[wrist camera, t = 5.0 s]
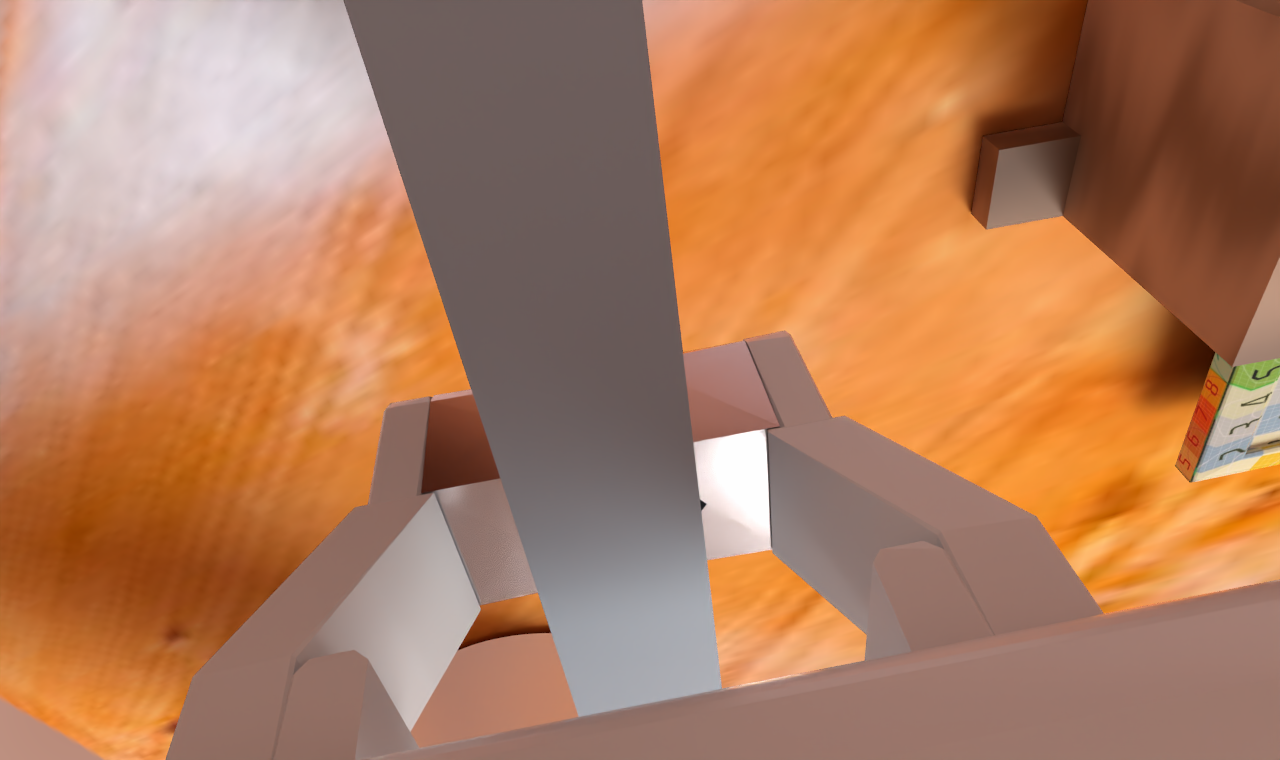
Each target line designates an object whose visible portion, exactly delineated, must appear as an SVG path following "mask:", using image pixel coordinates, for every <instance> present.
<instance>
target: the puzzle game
mask: <svg viewBox="0 0 1280 760" xmlns="http://www.w3.org/2000/svg"><path fill="white" fill-rule="evenodd" d="M1278 464H1280V358H1278V359H1273V360H1267V361H1262V362H1256V363H1251V364H1245V365H1240V366H1235V367H1231V366H1230V365H1229V364H1228V363H1227V362H1226V361H1225V360H1224V359H1223V358H1221V357H1220V356H1219V355H1218V354H1217V353H1216V352H1215V355H1214V358H1213V361H1212V363H1211V366H1210V369H1209V372H1208V375H1207V377H1206V380H1205V383H1204V386H1203V389H1202V392H1201V394H1200V397H1199V400H1198V403H1197V406H1196V408H1195V411H1194V414H1193V417H1192V420H1191V422H1190V425H1189V428H1188V431H1187V434H1186V436H1185V439H1184V442H1183V445H1182V448H1181V451H1180V453H1179V456H1178V459H1177V462H1176V465H1175V466H1176V468H1177V469H1178V470H1179V471H1180V472H1181V473H1182V474H1183V475H1184V476H1185V478H1186V479H1187V480H1188V481H1189V482H1196V481H1201V480H1206V479H1211V478H1216V477H1220V476H1225V475H1230V474H1235V473H1240V472H1244V471H1249V470H1254V469H1259V468H1264V467H1268V466H1273V465H1278Z"/></svg>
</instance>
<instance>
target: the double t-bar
mask: <svg viewBox="0 0 1280 760" xmlns="http://www.w3.org/2000/svg"><path fill="white" fill-rule="evenodd" d="M971 214H972V215H973V216H974V217H975V218H976V219H977V220H978V221H979V222H980V223H981V224H982V226H983V227H984V228H985V229H992V228H997V227H1003V226H1008V225H1014V224H1020V223H1025V222H1031V221H1036V220H1042V219H1048V218H1053V217H1059V216H1064V217H1065V218H1066V219H1067V220H1068V221H1069V222H1070V223H1071V224H1073V225H1074V226H1075V227H1076V228H1077V229H1078V230H1079V231H1080V232H1081V233H1083V234H1084V235H1085V236H1086V237H1087V238H1088V239H1089V240H1090V241H1092V242H1093V243H1094V244H1095V245H1096V246H1097V247H1098V248H1099V249H1101V250H1102V251H1103V252H1104V253H1105V254H1106V255H1107V256H1108V257H1109V258H1111V259H1112V260H1113V261H1114V262H1115V263H1116V264H1117V265H1118V266H1120V267H1121V268H1122V269H1123V270H1124V271H1125V272H1126V273H1127V274H1129V275H1130V276H1131V277H1132V278H1133V279H1134V280H1135V281H1136V282H1137V283H1139V284H1140V285H1141V286H1142V287H1143V288H1144V289H1145V290H1146V291H1148V292H1149V293H1150V294H1151V295H1152V296H1153V297H1154V298H1155V299H1156V300H1158V301H1159V302H1160V303H1161V304H1162V305H1163V306H1164V307H1165V308H1167V309H1168V310H1169V311H1170V312H1171V313H1172V314H1173V315H1174V316H1176V317H1177V318H1178V319H1179V320H1180V321H1181V322H1182V323H1183V324H1184V325H1186V326H1187V327H1188V328H1189V329H1190V330H1191V331H1192V332H1193V333H1195V334H1196V335H1197V336H1198V337H1199V338H1200V339H1201V340H1202V341H1203V342H1205V343H1206V344H1207V345H1208V346H1209V347H1210V348H1211V349H1212V350H1214V351H1215V352H1216V353H1217V354H1218V355H1219V356H1220V357H1221V358H1223V359H1224V360H1225V361H1226V362H1227V363H1228V364H1229V365H1230V366H1231V367H1235V366H1240V365H1245V364H1251V363H1256V362H1262V361H1267V360H1273V359H1278V358H1280V0H1088V3H1087V8H1086V12H1085V17H1084V22H1083V26H1082V31H1081V36H1080V41H1079V45H1078V50H1077V55H1076V59H1075V64H1074V69H1073V74H1072V78H1071V83H1070V88H1069V92H1068V97H1067V102H1066V107H1065V111H1064V116H1063V121H1062V122H1059V123H1054V124H1048V125H1042V126H1036V127H1031V128H1025V129H1019V130H1014V131H1008V132H1002V133H997V134H991V135H985V136H983V139H982V146H981V152H980V159H979V166H978V172H977V179H976V186H975V192H974V199H973V206H972V212H971Z"/></svg>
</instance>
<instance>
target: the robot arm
mask: <svg viewBox="0 0 1280 760" xmlns="http://www.w3.org/2000/svg"><path fill="white" fill-rule="evenodd" d="M683 358H684V367H685V375H686V384H687V393H688V401H689V410H690V418H691V427H692V436H693V444H694V453H695V462H696V470H697V479H698V487H699V496H700V505H701V513H702V522H703V531H704V539H705V548H706V556H707V560H711V559H717V558H723V557H729V556H735V555H742V554H748V553H754V552H760V551H766V550H772V551H773V554H774V555H776V556H777V557H778V558H779V559H780V560H781V561H783V562H784V563H785V564H786V565H787V566H788V567H789V568H791V569H792V570H793V571H794V572H795V573H796V574H797V575H799V576H800V577H801V578H802V579H803V580H804V581H806V582H807V583H808V584H809V585H810V586H811V587H812V588H814V589H815V590H816V591H817V592H818V593H819V594H820V595H822V596H823V597H824V598H825V599H826V600H827V601H829V602H830V603H831V604H832V605H833V606H834V607H835V608H837V609H838V610H839V611H840V612H841V613H842V614H843V615H845V616H846V617H847V618H848V619H849V620H850V621H852V622H853V623H854V624H855V625H856V626H857V627H858V628H860V629H861V630H862V631H863V632H864V633H865V634H866V635H867V639H866V651H865V661H861V662H856V663H851V664H846V665H841V666H836V667H830V668H825V669H820V670H815V671H810V672H805V673H800V674H795V675H790V676H785V677H780V678H774V679H769V680H764V681H759V682H754V683H749V684H744V685H739V686H734V687H729V688H723V689H718V690H713V691H708V692H703V693H698V694H693V695H688V696H683V697H678V698H673V699H667V700H662V701H657V702H652V703H647V704H642V705H637V706H632V707H627V708H622V709H616V710H611V711H606V712H601V713H596V714H591V715H586V716H581V717H579V716H578V713H577V710H576V707H575V704H574V701H573V698H572V695H571V692H570V689H569V686H568V683H567V680H566V676H565V673H564V670H563V667H562V664H561V661H560V658H559V655H558V652H557V649H556V646H555V643H554V640H553V637H552V634H551V633H535V634H522V635H514V636H508V637H502V638H497V639H492V640H488V641H484V642H481V643H477V644H474V645H471V646H468V647H466V648H463V649H460V650H458V649H459V647H460V645H461V643H462V642H463V640H464V638H465V636H466V635H467V633H468V631H469V630H470V628H471V626H472V624H473V623H474V621H475V619H476V617H477V616H478V614H479V612H480V610H481V608H480V606H479V605H484V604H488V603H493V602H497V601H502V600H507V599H511V598H516V597H520V596H525V595H529V594H534V593H538V591H537V588H536V585H535V582H534V579H533V576H532V573H531V570H530V567H529V564H528V561H527V558H526V555H525V552H524V548H523V545H522V542H521V539H520V536H519V533H518V530H517V527H516V524H515V521H514V518H513V515H512V512H511V509H510V506H509V503H508V500H507V497H506V494H505V491H504V488H503V484H502V481H501V478H500V475H499V472H498V469H497V466H496V463H495V460H494V457H493V454H492V451H491V448H490V445H489V442H488V439H487V436H486V433H485V430H484V427H483V424H482V421H481V417H480V414H479V411H478V408H477V405H476V402H475V399H474V396H473V393H472V390H465V391H459V392H453V393H447V394H441V395H434V397H424V398H418V399H413V400H407V401H401V402H396V403H390V405H389V406H388V407H387V408H386V410H385V411H384V415H383V421H382V427H381V432H380V438H379V444H378V450H377V455H376V461H375V467H374V472H373V478H372V484H371V490H370V495H369V501H368V505H365V506H360V507H355V508H354V509H353V510H352V511H351V512H350V513H349V514H348V515H347V516H346V517H345V518H344V519H343V520H342V521H341V522H340V524H339V525H338V526H337V527H336V528H335V529H334V530H333V531H332V532H331V533H330V534H329V535H328V536H327V537H326V538H325V539H324V540H323V541H322V542H321V543H320V544H319V545H318V547H317V548H316V549H315V550H314V551H313V552H312V553H311V554H310V555H309V556H308V557H307V558H306V559H305V560H304V561H303V562H302V563H301V564H300V565H299V566H298V567H297V568H296V570H295V571H294V572H293V573H292V574H291V575H290V576H289V577H288V578H287V579H286V580H285V581H284V582H283V583H282V584H281V585H280V586H279V587H278V588H277V589H276V590H275V592H274V593H273V594H272V595H271V596H270V597H269V598H268V599H267V600H266V601H265V602H264V603H263V604H262V605H261V606H260V607H259V608H258V609H257V610H256V611H255V612H254V613H253V615H252V616H251V617H250V618H249V619H248V620H247V621H246V622H245V623H244V624H243V625H242V626H241V627H240V628H239V629H238V630H237V631H236V632H235V633H234V634H233V635H232V637H231V638H230V639H229V640H228V641H227V642H226V643H225V644H224V645H223V646H222V647H221V648H220V649H219V650H218V651H217V652H216V653H215V654H214V655H213V656H212V657H211V658H210V660H209V661H208V662H207V663H206V664H205V665H204V666H203V667H202V668H201V669H200V670H199V671H198V672H197V673H196V674H195V675H194V676H193V678H192V681H191V684H190V687H189V690H188V693H187V696H186V699H185V702H184V705H183V708H182V711H181V714H180V717H179V720H178V723H177V726H176V730H175V733H174V736H173V739H172V742H171V745H170V748H169V751H168V754H167V757H166V760H1280V580H1275V581H1270V582H1265V583H1260V584H1254V585H1249V586H1244V587H1239V588H1234V589H1229V590H1224V591H1219V592H1214V593H1208V594H1203V595H1198V596H1193V597H1188V598H1183V599H1178V600H1173V601H1168V602H1162V603H1157V604H1152V605H1147V606H1142V607H1137V608H1132V609H1127V610H1122V611H1117V612H1111V613H1106V614H1104V613H1103V612H1102V610H1101V609H1100V608H1099V606H1098V605H1097V603H1096V602H1095V600H1094V599H1093V597H1092V596H1091V595H1090V593H1089V592H1088V590H1087V589H1086V587H1085V586H1084V584H1083V583H1082V582H1081V580H1080V579H1079V577H1078V576H1077V574H1076V573H1075V571H1074V570H1073V569H1072V567H1071V566H1070V564H1069V563H1068V561H1067V560H1066V559H1065V557H1064V556H1063V554H1062V553H1061V551H1060V550H1059V548H1058V547H1057V546H1056V544H1055V543H1054V541H1053V540H1052V538H1051V537H1050V535H1049V534H1048V533H1047V531H1046V530H1045V528H1044V527H1043V525H1042V524H1041V522H1040V521H1039V520H1038V518H1037V517H1036V516H1034V515H1032V514H1031V513H1029V512H1027V511H1025V510H1023V509H1021V508H1019V507H1017V506H1015V505H1013V504H1012V503H1010V502H1008V501H1006V500H1004V499H1002V498H1000V497H998V496H996V495H994V494H993V493H991V492H989V491H987V490H985V489H983V488H981V487H979V486H977V485H975V484H974V483H972V482H970V481H968V480H966V479H964V478H962V477H960V476H958V475H956V474H955V473H953V472H951V471H949V470H947V469H945V468H943V467H941V466H939V465H937V464H936V463H934V462H932V461H930V460H928V459H926V458H924V457H922V456H920V455H918V454H917V453H915V452H913V451H911V450H909V449H907V448H905V447H903V446H901V445H899V444H898V443H896V442H894V441H892V440H890V439H888V438H886V437H884V436H882V435H880V434H879V433H877V432H875V431H873V430H871V429H869V428H867V427H865V426H863V425H861V424H860V423H858V422H856V421H854V420H852V419H850V418H848V417H846V416H841V417H836V418H832V416H831V414H830V412H829V410H828V408H827V406H826V404H825V402H824V400H823V398H822V396H821V394H820V392H819V390H818V389H817V387H816V385H815V383H814V381H813V379H812V377H811V375H810V373H809V371H808V369H807V367H806V365H805V363H804V361H803V359H802V357H801V355H800V353H799V351H798V349H797V347H796V345H795V343H794V341H793V339H792V337H791V335H790V334H789V333H787V332H786V331H780V332H776V333H771V334H766V335H762V336H757V337H752V338H748V339H743V341H740V342H735V343H730V344H725V345H719V346H714V347H709V348H703V349H698V350H693V351H687V352H683ZM457 650H458V651H457Z"/></svg>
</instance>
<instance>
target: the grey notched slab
mask: <svg viewBox="0 0 1280 760" xmlns="http://www.w3.org/2000/svg"><path fill="white" fill-rule="evenodd" d="M344 3H345V6H346V9H347V12H348V15H349V18H350V21H351V24H352V27H353V30H354V34H355V37H356V40H357V43H358V46H359V49H360V52H361V55H362V58H363V61H364V64H365V67H366V70H367V73H368V76H369V79H370V82H371V85H372V88H373V91H374V94H375V98H376V101H377V104H378V107H379V110H380V113H381V116H382V119H383V122H384V125H385V128H386V131H387V134H388V137H389V140H390V143H391V146H392V149H393V152H394V155H395V158H396V161H397V165H398V168H399V171H400V174H401V177H402V180H403V183H404V186H405V189H406V192H407V195H408V198H409V201H410V204H411V207H412V210H413V213H414V216H415V219H416V222H417V225H418V229H419V232H420V235H421V238H422V241H423V244H424V247H425V250H426V253H427V256H428V259H429V262H430V265H431V268H432V271H433V274H434V277H435V280H436V283H437V286H438V289H439V293H440V296H441V299H442V302H443V305H444V308H445V311H446V314H447V317H448V320H449V323H450V326H451V329H452V332H453V335H454V338H455V341H456V344H457V347H458V350H459V353H460V357H461V360H462V363H463V366H464V369H465V372H466V375H467V378H468V381H469V384H470V387H471V390H472V393H473V396H474V399H475V402H476V405H477V408H478V411H479V414H480V417H481V421H482V424H483V427H484V430H485V433H486V436H487V439H488V442H489V445H490V448H491V451H492V454H493V457H494V460H495V463H496V466H497V469H498V472H499V475H500V478H501V481H502V484H503V488H504V491H505V494H506V497H507V500H508V503H509V506H510V509H511V512H512V515H513V518H514V521H515V524H516V527H517V530H518V533H519V536H520V539H521V542H522V545H523V548H524V552H525V555H526V558H527V561H528V564H529V567H530V570H531V573H532V576H533V579H534V582H535V585H536V588H537V591H538V594H539V597H540V600H541V603H542V606H543V609H544V612H545V616H546V619H547V622H548V625H549V628H550V631H551V634H552V637H553V640H554V643H555V646H556V649H557V652H558V655H559V658H560V661H561V664H562V667H563V670H564V673H565V676H566V680H567V683H568V686H569V689H570V692H571V695H572V698H573V701H574V704H575V707H576V710H577V713H578V716H579V717H581V716H586V715H591V714H596V713H601V712H606V711H611V710H616V709H622V708H627V707H632V706H637V705H642V704H647V703H652V702H657V701H662V700H667V699H673V698H678V697H683V696H688V695H693V694H698V693H703V692H708V691H713V690H718V689H722V686H721V677H720V669H719V660H718V651H717V643H716V634H715V625H714V617H713V608H712V600H711V591H710V582H709V574H708V565H707V556H706V548H705V539H704V531H703V522H702V513H701V505H700V496H699V487H698V479H697V470H696V462H695V453H694V444H693V436H692V427H691V418H690V410H689V401H688V393H687V384H686V375H685V367H684V358H683V350H682V341H681V332H680V324H679V315H678V306H677V298H676V289H675V281H674V272H673V263H672V255H671V246H670V237H669V229H668V220H667V212H666V203H665V194H664V186H663V177H662V168H661V160H660V151H659V143H658V134H657V125H656V117H655V108H654V99H653V91H652V82H651V74H650V65H649V56H648V48H647V39H646V30H645V22H644V13H643V5H642V0H344Z"/></svg>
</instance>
